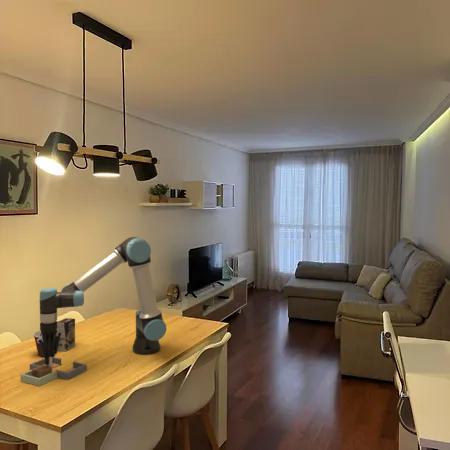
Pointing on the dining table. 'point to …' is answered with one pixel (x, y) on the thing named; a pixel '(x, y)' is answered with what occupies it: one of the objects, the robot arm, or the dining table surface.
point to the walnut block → (41, 371)
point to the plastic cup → (37, 336)
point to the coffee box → (66, 334)
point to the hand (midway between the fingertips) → (49, 370)
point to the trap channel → (66, 375)
